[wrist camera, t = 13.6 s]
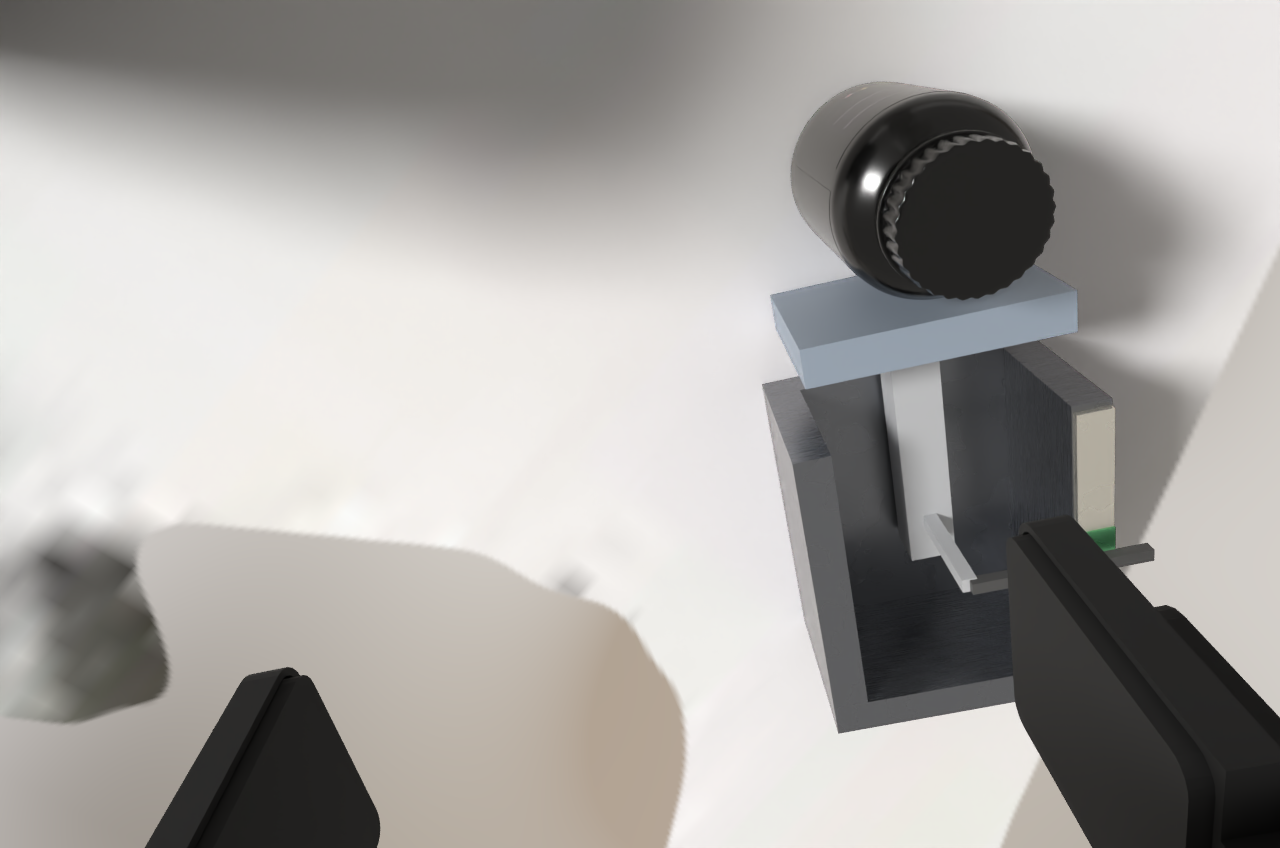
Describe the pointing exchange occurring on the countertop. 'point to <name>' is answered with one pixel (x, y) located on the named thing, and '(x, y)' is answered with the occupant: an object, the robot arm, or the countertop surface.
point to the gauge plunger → (922, 382)
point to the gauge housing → (982, 519)
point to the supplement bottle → (922, 190)
